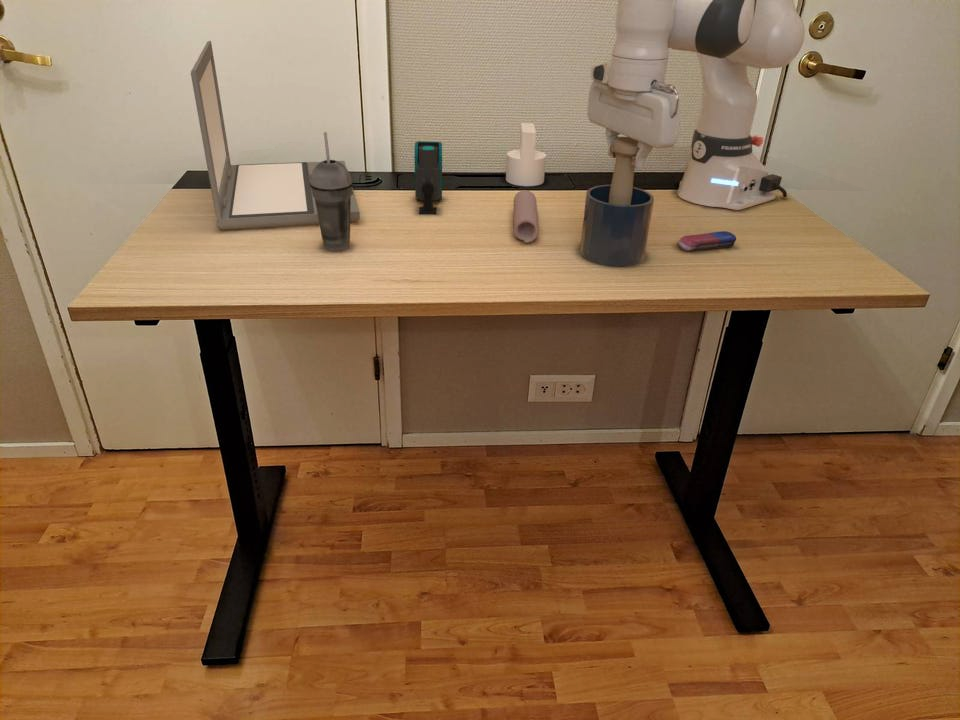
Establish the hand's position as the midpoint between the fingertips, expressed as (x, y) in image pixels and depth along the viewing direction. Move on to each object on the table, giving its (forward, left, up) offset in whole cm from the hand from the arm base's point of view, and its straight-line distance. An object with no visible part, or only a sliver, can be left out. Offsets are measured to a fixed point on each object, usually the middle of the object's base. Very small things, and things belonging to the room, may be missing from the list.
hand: (625, 161), depth 118 cm
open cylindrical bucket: (0, 0, -17) cm, 17 cm away
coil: (+8, -18, -17) cm, 26 cm away
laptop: (+47, -51, -17) cm, 71 cm away
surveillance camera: (+21, -36, -17) cm, 45 cm away
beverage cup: (+45, -22, -17) cm, 53 cm away
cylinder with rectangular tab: (-7, -44, -17) cm, 48 cm away
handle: (0, 0, -12) cm, 12 cm away
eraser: (-19, +4, -17) cm, 26 cm away
